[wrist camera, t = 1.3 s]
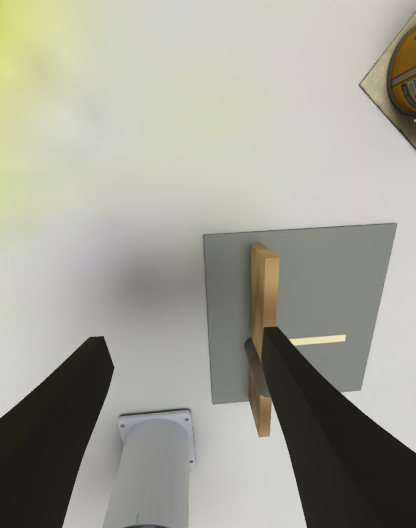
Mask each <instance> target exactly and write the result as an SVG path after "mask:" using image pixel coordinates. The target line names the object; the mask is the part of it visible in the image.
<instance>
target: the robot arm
mask: <svg viewBox="0 0 416 528" xmlns="http://www.w3.org/2000/svg"><path fill="white" fill-rule="evenodd" d="M261 362H262V367H263V371H264V376H265V380H266V384H267V387H268V390H269V393H270V396H271V399H272V402H273V405H274V408H275V411H276V414H277V417H278V419H279V422H280V425H281V428H282V431H283V434H284V437H285V441H286V444H287V447H288V451H289V455H290V459H291V462H292V466H293V470H294V474H295V478H296V482H297V487H298V491H299V495H300V499H301V503H302V508H303V512H304V516H305V520H306V525H307V528H416V453H415V452H414V451H412V450H411V449H409V448H408V447H407V446H405V445H404V444H403V443H402V442H400V441H399V440H398V439H396V438H395V437H394V436H392V435H391V434H390V433H388V432H387V431H386V430H384V429H383V428H382V427H380V426H379V425H378V424H376V423H375V422H374V421H373V420H372V419H370V418H369V417H368V416H367V415H366V414H364V413H363V412H362V411H361V410H359V409H358V408H357V407H356V406H355V405H354V404H353V403H351V402H350V401H349V400H348V399H347V398H346V397H345V396H343V395H342V394H341V393H340V392H339V391H338V390H337V389H336V388H335V387H334V386H333V385H332V384H331V383H329V382H328V381H327V380H326V379H325V378H324V377H323V376H322V375H321V374H320V373H319V372H318V371H317V370H316V369H315V368H314V367H313V365H312V364H311V363H310V362H309V361H308V360H307V359H306V358H305V357H304V356H303V355H302V354H301V353H300V352H299V350H298V349H297V348H296V347H295V346H294V345H293V344H292V343H291V341H290V340H289V339H288V338H287V337H286V336H285V334H284V333H283V332H282V331H281V330H280V328H279V327H277V326H275V327H264V330H263V341H262V352H261ZM113 371H114V365H113V362H112V359H111V356H110V354H109V351H108V348H107V345H106V342H105V339H104V336H100V337H90V338H88V339H87V340H86V341H85V342H84V343H83V344H82V345H81V346H80V347H79V348H78V349H77V350H76V351H75V352H74V353H73V354H72V355H71V356H70V357H68V358H67V359H66V360H65V361H64V362H63V363H62V364H61V365H60V366H59V367H58V368H57V369H56V370H55V371H54V372H53V373H52V374H51V375H50V376H48V377H47V378H46V379H45V380H44V381H43V382H42V383H41V384H40V385H39V386H37V387H36V388H35V389H34V390H33V391H32V392H31V393H29V394H28V395H27V396H26V397H25V398H24V399H23V400H22V401H20V402H19V403H18V404H17V405H16V406H15V407H13V408H12V409H11V410H10V411H9V412H7V413H6V414H5V415H4V416H3V417H1V418H0V528H62V526H63V523H64V519H65V515H66V512H67V508H68V505H69V501H70V497H71V494H72V491H73V487H74V484H75V481H76V477H77V474H78V471H79V467H80V464H81V461H82V458H83V455H84V453H85V450H86V447H87V445H88V442H89V439H90V437H91V434H92V432H93V429H94V427H95V424H96V422H97V419H98V416H99V414H100V411H101V409H102V406H103V403H104V401H105V398H106V396H107V393H108V390H109V386H110V383H111V379H112V375H113ZM117 423H118V427H119V431H120V436H121V440H122V444H123V452H122V456H121V460H120V464H119V467H118V471H117V475H116V479H115V483H114V486H113V490H112V494H111V498H110V501H109V505H108V509H107V513H106V517H105V520H104V524H103V528H189V470H192V469H195V467H196V461H195V451H194V441H193V430H192V420H191V412H190V411H189V410H182V411H171V412H161V413H150V414H140V415H130V416H121V417H119V418H118V421H117Z"/></svg>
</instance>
